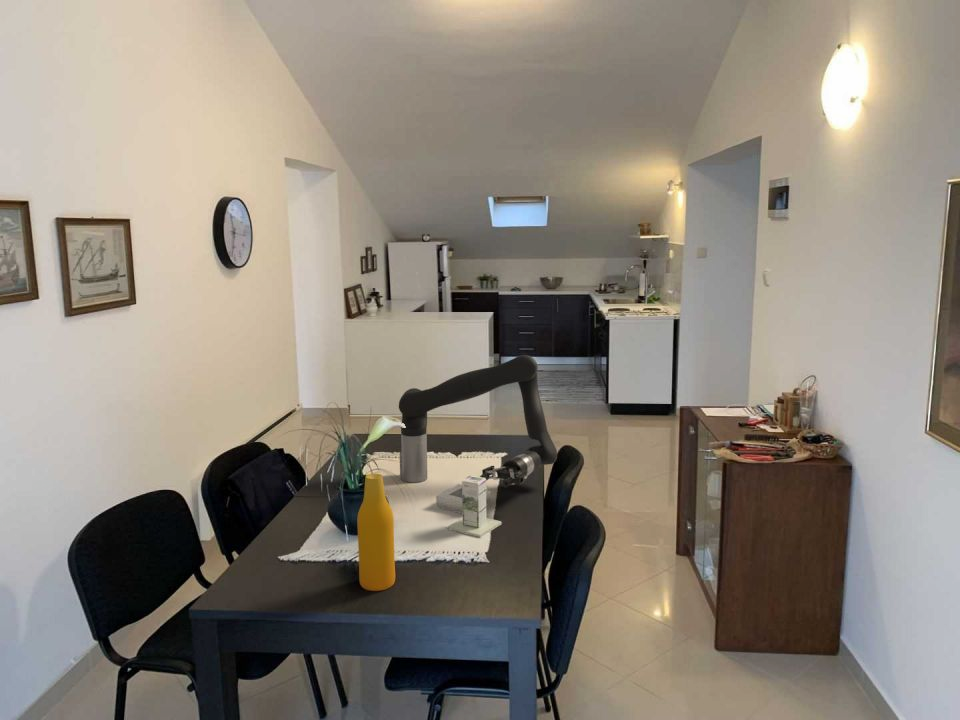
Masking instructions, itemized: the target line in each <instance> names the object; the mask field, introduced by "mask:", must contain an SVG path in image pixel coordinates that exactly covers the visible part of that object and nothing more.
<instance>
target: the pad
mask: <svg viewBox="0 0 960 720" xmlns="http://www.w3.org/2000/svg"><path fill="white" fill-rule="evenodd" d="M486 519H487V521H486V523H484V524H483V525H482V526H481V527H479V528H476V527H471V526H466V525H463V517H461V518H460V519H458V520H456V521H455V522H453V523H451V524H449V525H448V526H447V530H450V529H451V530H450V531H453V530H455V531H454V532H457V531H459V532H458V533H461V532H463V533H462V534H465V533H467V534H466V535H469V534H471V535H470V536H472V535H474V536H473V537H476V536H478V537H477V538H480V537H481V538H482V537H484V536H486V535H487V534H488V533H490V532H492V531H493V530H494V529H496V528H497V527H499V526H501V525H502V524H503V523H502V521H500V520H496V519H492V518H489V517H486ZM486 533H487V534H486ZM483 535H484V536H483Z"/></svg>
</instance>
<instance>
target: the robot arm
mask: <svg viewBox="0 0 960 720" xmlns="http://www.w3.org/2000/svg"><path fill="white" fill-rule="evenodd" d="M538 367H539V366H538V362H537V361H536V359H535V358H534V357H532V356H531V355H529V354H522V355H521V354H520V355H518V356H516V357H514V358H512V359H510V360H507V361H505V362H503V363H501V364H498V365H494V366H491V367H484V368H479V369H475V370H471V371H468V372H464V373H461V374H458V375H455V376H454V377H451V378H449V379H446V380H445V381H443V382H441V383H440V384H438V385H436V386H434V387H431V388H428V389H423V390H422V389H419V388H409V389H407V390H406V391H405V392H404V393H403V394H402V396H401V397H400V399H399V402H398V410H399V412H400V413H401V424H402V423H404V424H405V426H406V428H402V427H401V426H400V438H401V441H400V442H401V452H399V479H401V480H402V481H404V482H406V483H421V482H424V481H426V480H427V479H428V444H427V443H428V441H427V440H428V438H427V434H428V433H427V430H428V429H427V427H428V412H430V411H433V410H435V409H437V408H441V407H443V406H448V405H451V404H452V405H453V404H455V403H459V402H463V401H468V400H471V399H473V398H477V397H479V396H482V395H485V394H487V393H490V392H491V391H494V390H495V389H498V388H500V387H502V386H503V387H504V386H505V385H506V386H507V385H510V384H514V383H517V384H518V386H519V390H520V393H521V399H522V406H523V413H524V414H523V415H524V421H525V427H526V430H527V435H528V436H527V437H528V438H529V439H530V440H534V441H535V440H536V441H538V442H539V443H540V445H533V446H530V447H528V448H527V449H526V451H525V452H523V453H521V454H518V455H516V456H514V457H511V459H508V460H506V461H505V462H504V463H502V464H503V465H502V466H501V467H496V468H495V465H491V466H490V465H489V466H488V467H485V468H484V469H482V471H481V472H482V474H481V475H480V476H479V477H482V478H486V481H488V480H491V479H492V480H494V481H496V480H503V481H502V487H504V488H507V487H509V486H511V485H515V484H516V485H517V486H520V485H522V484H523V483H525V482H527V480H528V476H529V475H531V473H534V472H535V471H537V470H538V469H539V468H540V467H541V466H544V465H545V466H546V465H547V466H548V465H553V464H554V463H555V462H557V459H558V452H557V448H556V446H555V444H554V442H553V440H552V437H551V436H550V434H549V431H548V427H547V422H546V417H545V412H544V408H543V405H542V400H541V398H540V397H541V396H540V392H539V385H538ZM496 475H497V476H496Z"/></svg>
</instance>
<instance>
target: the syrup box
mask: <svg viewBox="0 0 960 720" xmlns="http://www.w3.org/2000/svg"><path fill="white" fill-rule="evenodd" d="M461 485H462V507H463V514H462V518H463V525H466V526H471V527H476V528H479V527H481V526H482V525H483V524H484V523H486V521H487V519H486V518H487V505H486V490H487V480H486V478H482V477H480V476H475V475H468V476H467V477H464V479H463V480H462V481H461Z"/></svg>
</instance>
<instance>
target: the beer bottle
mask: <svg viewBox="0 0 960 720" xmlns="http://www.w3.org/2000/svg"><path fill="white" fill-rule="evenodd" d="M364 478H365V480H364V492H363V501H362V503H361V505H360V508H359V510H358V513H357V520H356V522H357V523H356V524H357V542H358V547H357V548H358V549H357V550H358V569H359V570H358V572H359V573H358V575H359V577H358V578H359V584H360V586H361V587H362V588H363V589H364V590H365V591H371V592H379V591H385V590H387V589H389V588H391V587H393V585H394V584H395V581H396V567H395V566H396V565H395V564H396V563H395V561H396V560H395V559H396V558H395V534H394V533H395V532H394V531H395V530H394V527H395V526H394V522H395V521H394V520H395V519H394V514H393V510H392V507H391V506H390V504H389V502H388V500H387V497H386V492H385V485H384V479H383V475H382V474H380V473H369V474H366V475H365V477H364Z"/></svg>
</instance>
